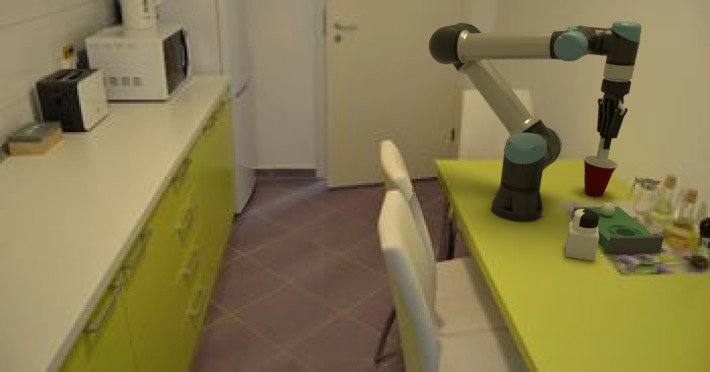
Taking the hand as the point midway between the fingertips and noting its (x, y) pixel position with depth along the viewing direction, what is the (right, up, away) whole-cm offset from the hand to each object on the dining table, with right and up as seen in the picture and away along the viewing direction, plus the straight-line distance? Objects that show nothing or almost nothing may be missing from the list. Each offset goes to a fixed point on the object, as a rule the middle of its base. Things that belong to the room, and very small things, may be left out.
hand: (602, 158), depth 170 cm
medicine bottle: (-14, -26, -18) cm, 34 cm away
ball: (0, -15, -3) cm, 15 cm away
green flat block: (+1, -21, -6) cm, 22 cm away
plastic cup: (+6, -11, +21) cm, 24 cm away
